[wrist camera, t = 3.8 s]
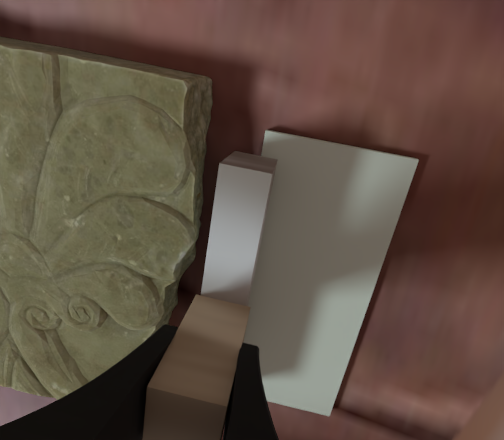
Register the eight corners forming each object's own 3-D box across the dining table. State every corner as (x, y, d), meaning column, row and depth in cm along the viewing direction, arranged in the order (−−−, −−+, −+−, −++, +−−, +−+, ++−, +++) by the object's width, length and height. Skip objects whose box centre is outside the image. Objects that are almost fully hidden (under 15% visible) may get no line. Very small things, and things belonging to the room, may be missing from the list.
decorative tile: (-62, 330, 24) (-119, 367, 21) (-127, 13, 17) (-229, -7, 14) (188, 391, 23) (169, 440, 20) (229, 75, 16) (210, 68, 13)
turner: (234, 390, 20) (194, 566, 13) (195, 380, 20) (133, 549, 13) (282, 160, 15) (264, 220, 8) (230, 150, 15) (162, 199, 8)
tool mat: (328, 409, 21) (329, 416, 21) (220, 382, 22) (218, 389, 21) (415, 157, 16) (419, 159, 15) (266, 129, 16) (265, 130, 16)
